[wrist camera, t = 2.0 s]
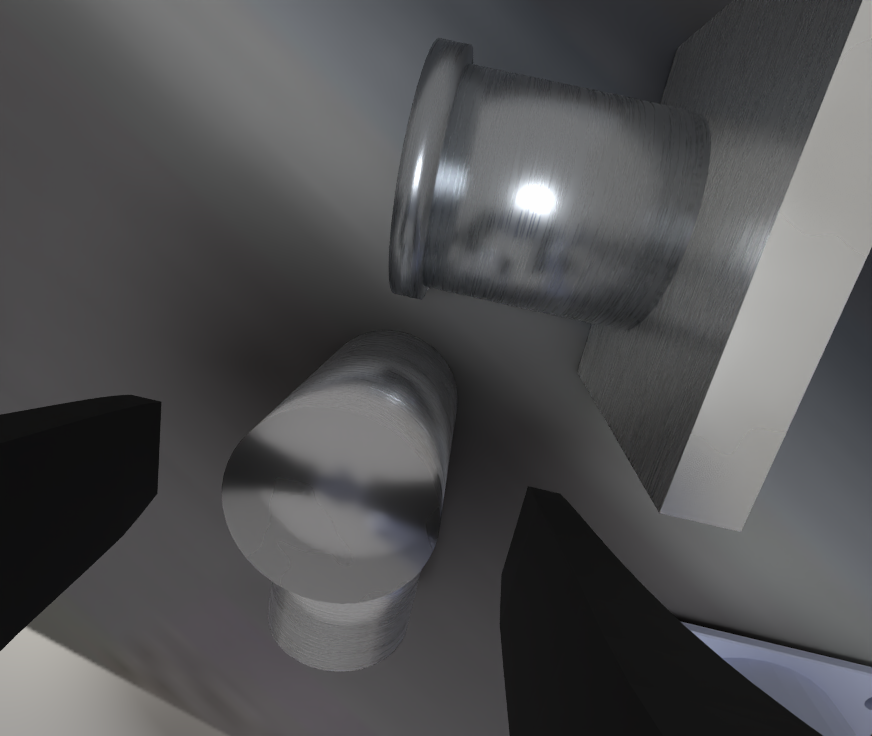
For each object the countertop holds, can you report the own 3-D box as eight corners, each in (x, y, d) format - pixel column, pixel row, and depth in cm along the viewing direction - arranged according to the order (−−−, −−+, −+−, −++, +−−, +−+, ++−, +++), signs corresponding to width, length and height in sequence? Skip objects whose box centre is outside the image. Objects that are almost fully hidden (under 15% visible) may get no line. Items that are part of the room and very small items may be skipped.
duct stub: (726, 60, 12) (1053, -148, 5) (618, 380, 14) (741, 532, 7) (464, 6, 12) (437, -266, 5) (402, 331, 14) (327, 435, 8)
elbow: (332, 316, 14) (231, 383, 9) (471, 347, 14) (462, 437, 9) (297, 550, 17) (200, 725, 11) (416, 579, 17) (379, 770, 11)
